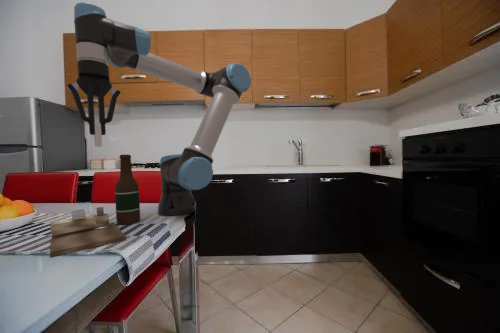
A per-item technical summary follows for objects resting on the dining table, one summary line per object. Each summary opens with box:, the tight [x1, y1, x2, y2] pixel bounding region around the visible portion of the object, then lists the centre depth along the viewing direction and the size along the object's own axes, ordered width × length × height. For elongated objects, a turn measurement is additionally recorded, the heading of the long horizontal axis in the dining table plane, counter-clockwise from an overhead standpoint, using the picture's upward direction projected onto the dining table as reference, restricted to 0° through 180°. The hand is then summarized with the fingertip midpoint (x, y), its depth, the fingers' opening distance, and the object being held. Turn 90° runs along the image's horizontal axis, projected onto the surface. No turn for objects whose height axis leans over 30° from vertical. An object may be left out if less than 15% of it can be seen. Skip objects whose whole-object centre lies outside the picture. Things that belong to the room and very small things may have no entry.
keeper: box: [71, 209, 110, 230], centre depth 74 cm, size 10×7×6 cm
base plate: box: [49, 221, 126, 258], centre depth 68 cm, size 16×19×1 cm
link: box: [49, 206, 110, 237], centre depth 71 cm, size 14×4×5 cm, turn 135°
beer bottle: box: [114, 154, 141, 226], centre depth 84 cm, size 8×8×24 cm
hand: (98, 146), depth 69 cm, fingers closed
